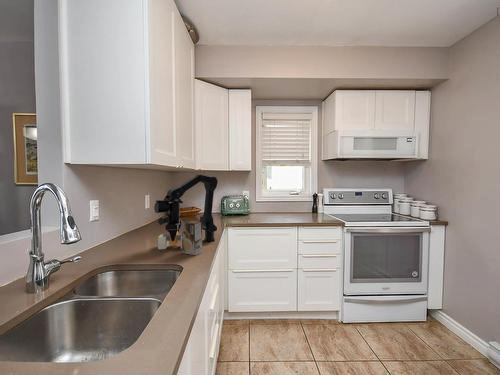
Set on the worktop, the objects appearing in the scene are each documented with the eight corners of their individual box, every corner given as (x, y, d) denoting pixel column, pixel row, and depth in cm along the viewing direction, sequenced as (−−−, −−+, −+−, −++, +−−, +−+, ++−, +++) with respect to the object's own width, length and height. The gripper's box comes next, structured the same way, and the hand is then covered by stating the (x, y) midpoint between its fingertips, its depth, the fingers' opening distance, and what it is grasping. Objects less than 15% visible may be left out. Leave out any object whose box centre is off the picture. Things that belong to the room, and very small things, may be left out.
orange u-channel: (172, 242, 147) (172, 230, 147) (178, 242, 148) (178, 230, 147) (170, 246, 140) (170, 233, 140) (176, 246, 141) (176, 233, 140)
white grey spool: (158, 249, 140) (158, 236, 139) (161, 245, 147) (160, 233, 146) (188, 248, 142) (188, 235, 141) (189, 245, 148) (189, 233, 148)
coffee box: (203, 252, 135) (203, 222, 134) (195, 255, 129) (195, 224, 128) (189, 249, 139) (189, 220, 138) (181, 252, 133) (181, 222, 133)
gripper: (163, 209, 151) (163, 235, 152) (155, 214, 133) (155, 243, 134) (182, 209, 153) (182, 235, 153) (177, 213, 134) (177, 243, 135)
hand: (174, 239), depth 144 cm, fingers open, 9 cm apart
